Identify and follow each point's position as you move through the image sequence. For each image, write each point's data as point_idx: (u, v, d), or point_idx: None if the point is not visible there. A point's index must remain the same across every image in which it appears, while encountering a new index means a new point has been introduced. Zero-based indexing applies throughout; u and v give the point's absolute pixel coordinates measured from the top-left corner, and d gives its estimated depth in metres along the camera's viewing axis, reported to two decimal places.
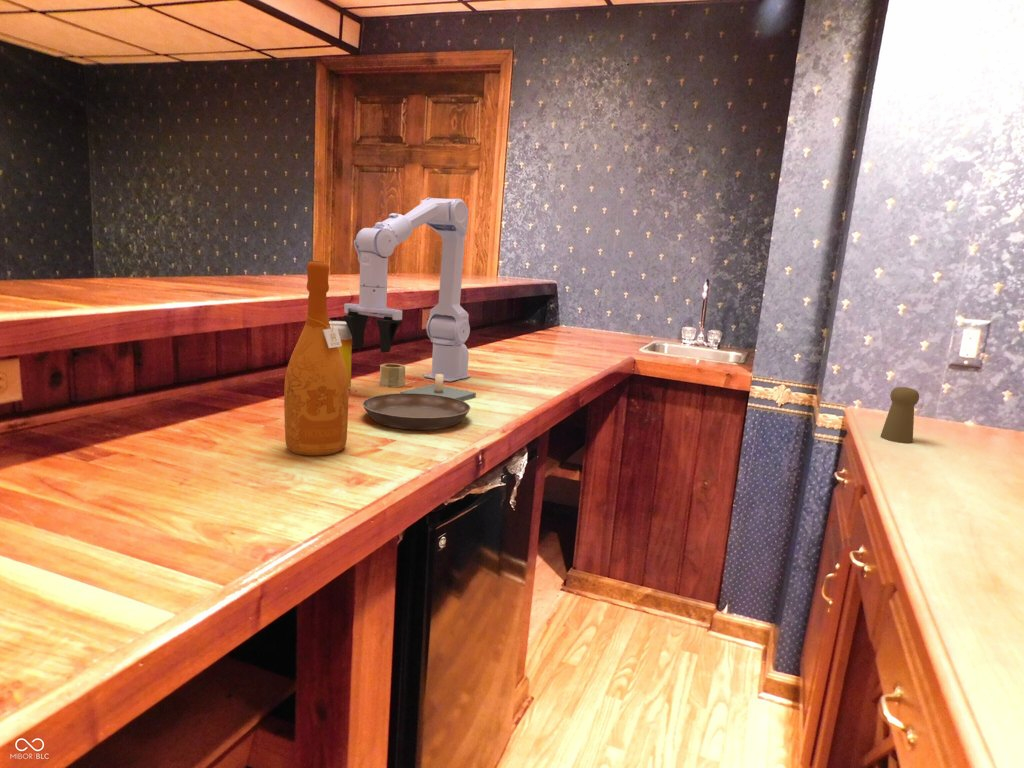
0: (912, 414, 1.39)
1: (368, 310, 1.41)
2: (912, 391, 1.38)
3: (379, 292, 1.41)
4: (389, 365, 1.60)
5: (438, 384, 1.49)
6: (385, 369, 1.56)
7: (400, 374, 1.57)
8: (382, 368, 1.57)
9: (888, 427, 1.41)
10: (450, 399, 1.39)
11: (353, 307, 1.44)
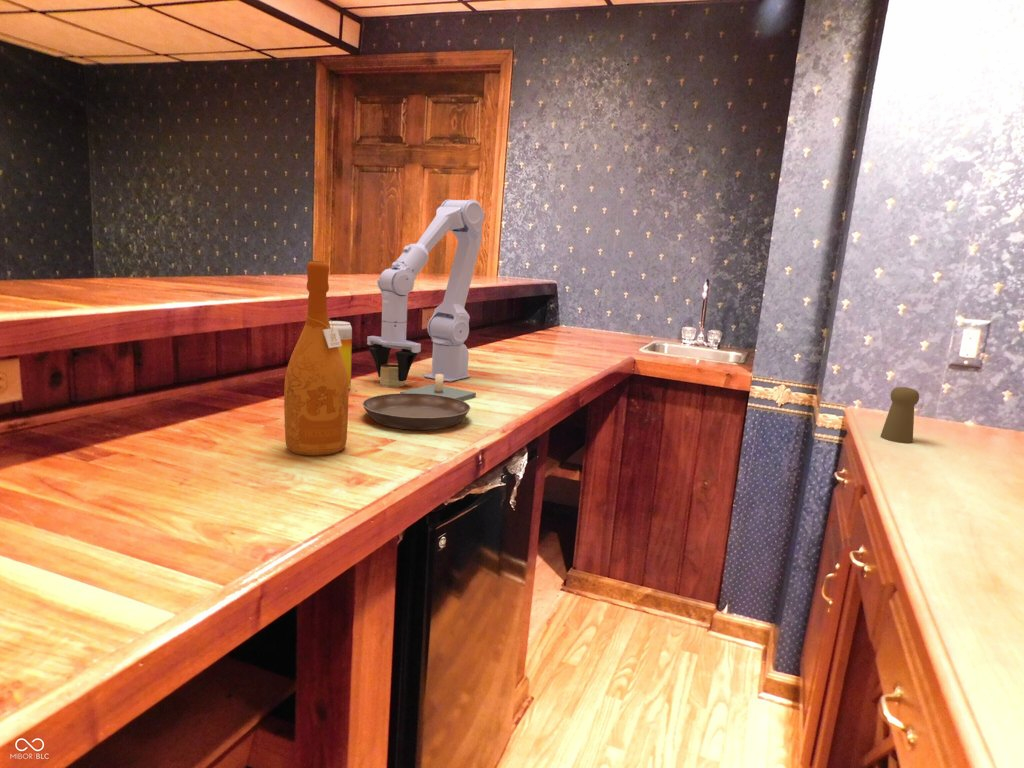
0: (912, 414, 1.39)
1: (390, 343, 1.55)
2: (912, 391, 1.38)
3: (400, 327, 1.55)
4: (389, 365, 1.60)
5: (438, 384, 1.49)
6: (385, 369, 1.56)
7: None
8: (382, 368, 1.57)
9: (888, 427, 1.41)
10: (450, 399, 1.39)
11: (376, 340, 1.58)
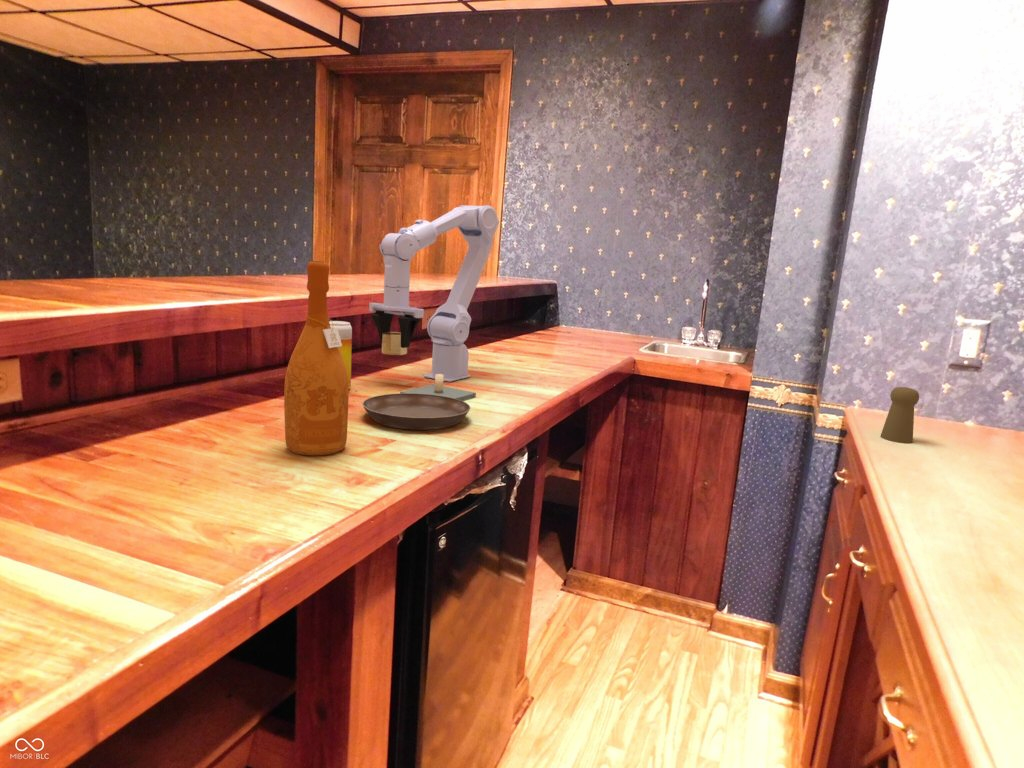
0: (912, 414, 1.39)
1: (392, 309, 1.53)
2: (912, 391, 1.38)
3: (402, 292, 1.53)
4: (391, 333, 1.58)
5: (438, 384, 1.49)
6: (387, 336, 1.54)
7: None
8: (384, 336, 1.55)
9: (888, 427, 1.41)
10: (450, 399, 1.39)
11: (378, 306, 1.56)
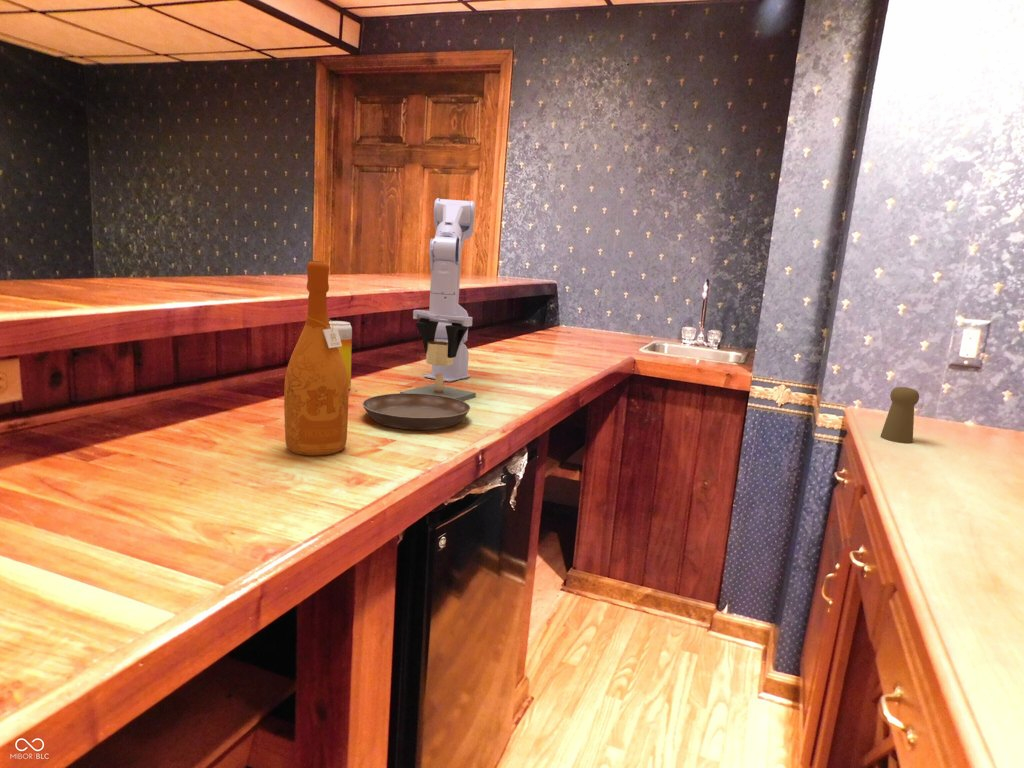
0: (912, 414, 1.39)
1: (439, 317, 1.44)
2: (912, 391, 1.38)
3: (450, 299, 1.44)
4: (436, 342, 1.50)
5: (438, 384, 1.49)
6: (433, 346, 1.46)
7: None
8: (430, 345, 1.46)
9: (888, 427, 1.41)
10: (450, 399, 1.39)
11: (423, 314, 1.47)
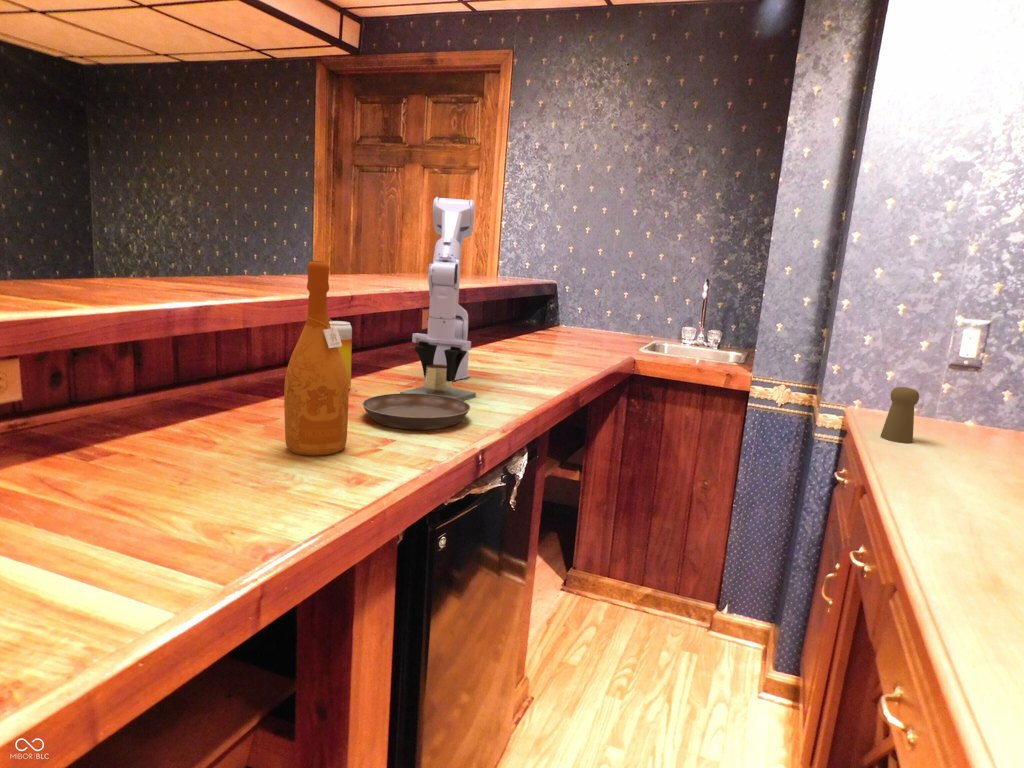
0: (912, 414, 1.39)
1: (438, 341, 1.45)
2: (912, 391, 1.38)
3: (449, 323, 1.45)
4: (435, 365, 1.51)
5: None
6: (432, 370, 1.47)
7: None
8: (429, 369, 1.47)
9: (888, 427, 1.41)
10: (450, 399, 1.39)
11: (422, 337, 1.48)
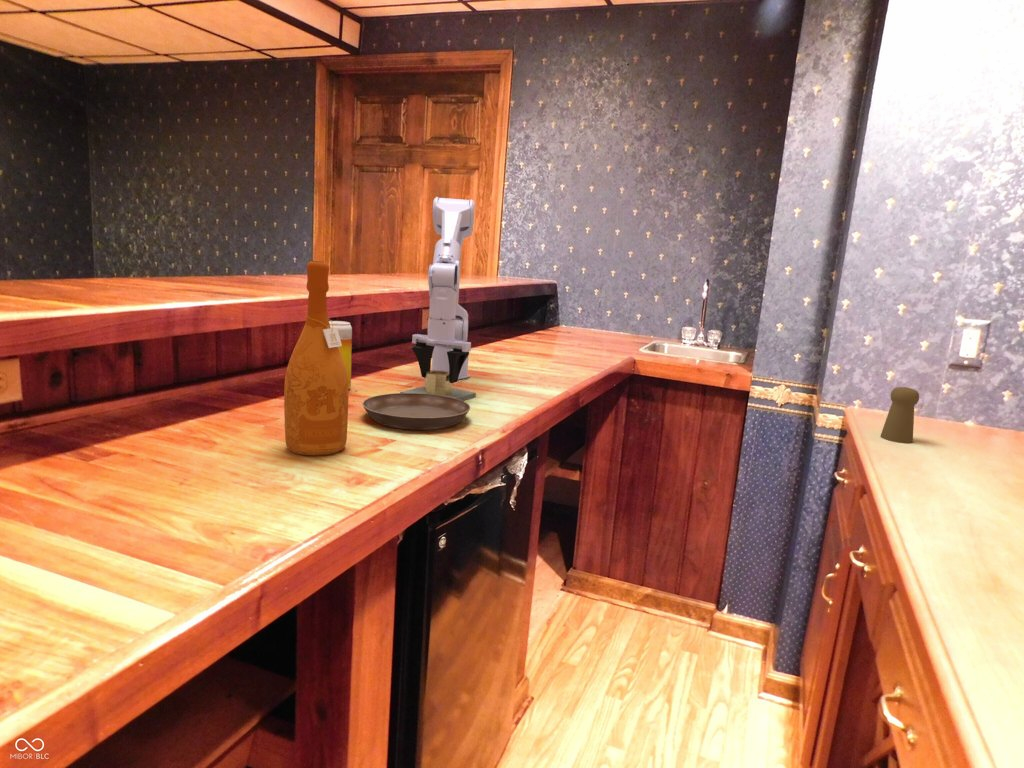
0: (912, 414, 1.39)
1: (438, 342, 1.45)
2: (912, 391, 1.38)
3: (449, 325, 1.45)
4: (434, 372, 1.51)
5: None
6: (432, 376, 1.47)
7: (447, 382, 1.48)
8: (428, 375, 1.47)
9: (888, 427, 1.41)
10: (450, 399, 1.39)
11: (422, 338, 1.48)
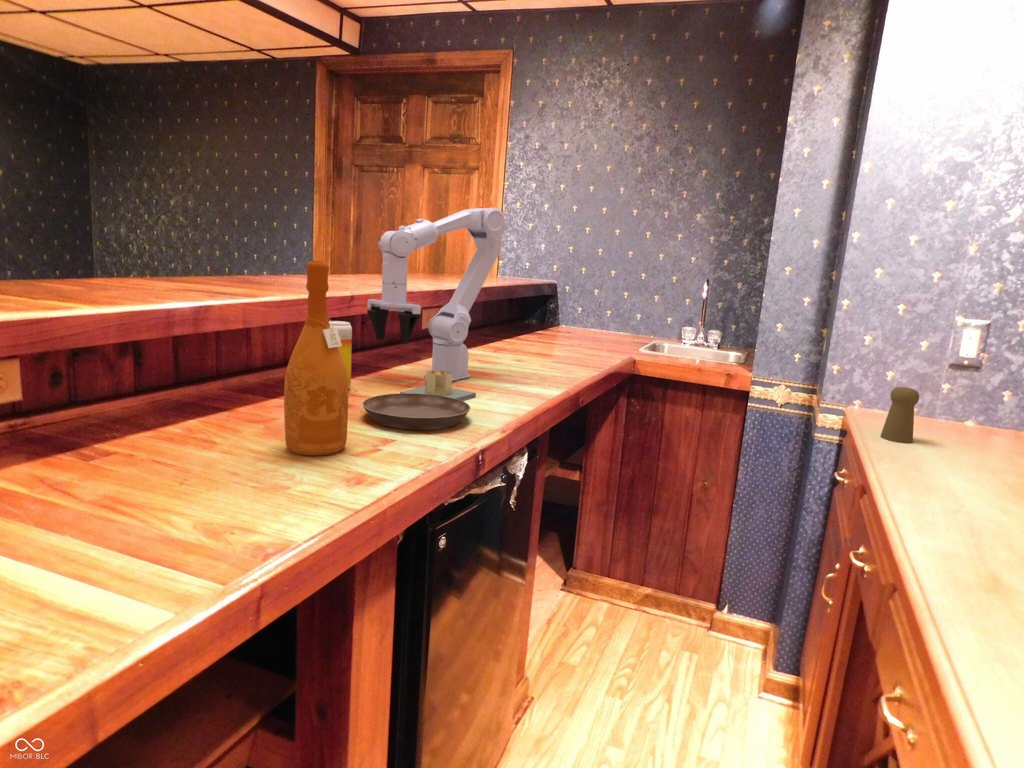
0: (912, 414, 1.39)
1: (390, 305, 1.55)
2: (912, 391, 1.38)
3: (400, 289, 1.56)
4: (434, 372, 1.51)
5: None
6: (432, 376, 1.47)
7: (447, 382, 1.48)
8: (428, 375, 1.47)
9: (888, 427, 1.41)
10: (450, 399, 1.39)
11: (376, 302, 1.59)
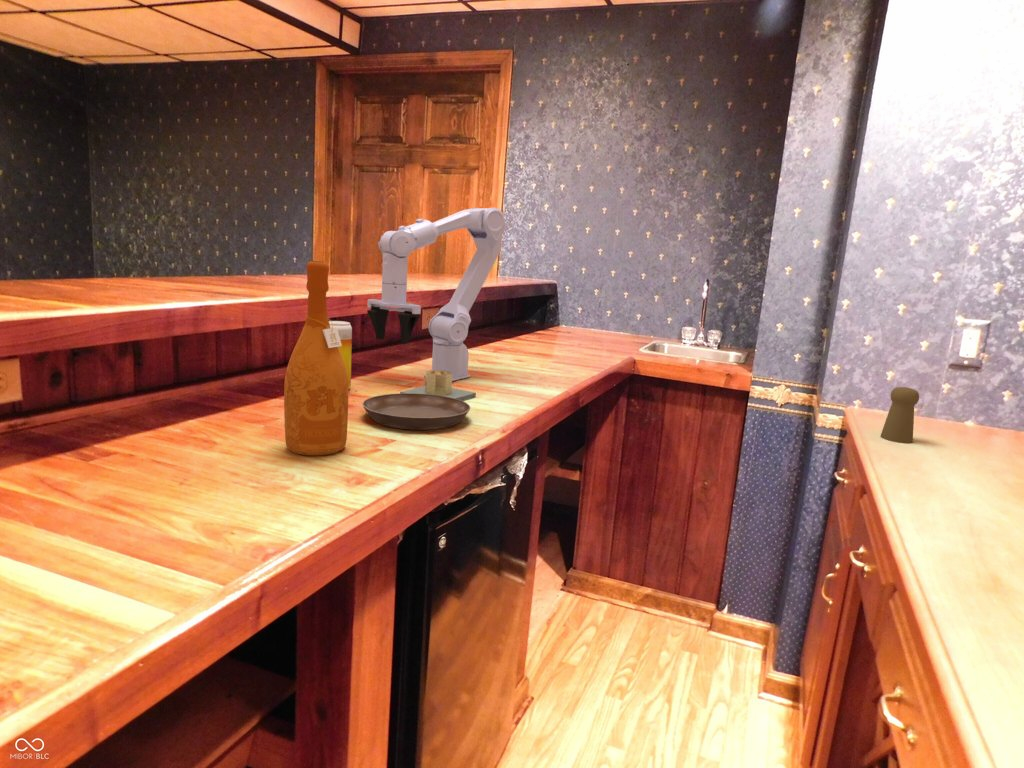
0: (912, 414, 1.39)
1: (390, 305, 1.55)
2: (912, 391, 1.38)
3: (400, 289, 1.56)
4: (434, 372, 1.51)
5: None
6: (432, 376, 1.47)
7: (447, 382, 1.48)
8: (428, 375, 1.47)
9: (888, 427, 1.41)
10: (450, 399, 1.39)
11: (376, 302, 1.59)
